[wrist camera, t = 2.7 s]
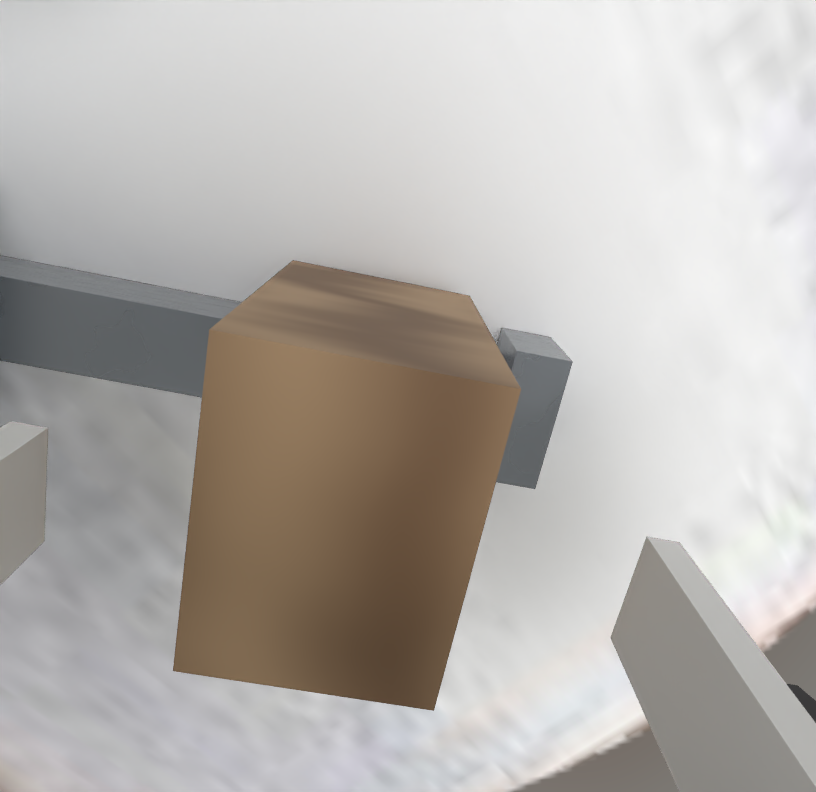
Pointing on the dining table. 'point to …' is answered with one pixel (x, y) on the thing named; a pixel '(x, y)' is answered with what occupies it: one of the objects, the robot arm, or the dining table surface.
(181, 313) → the rail
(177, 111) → the dining table surface
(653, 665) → the robot arm
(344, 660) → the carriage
